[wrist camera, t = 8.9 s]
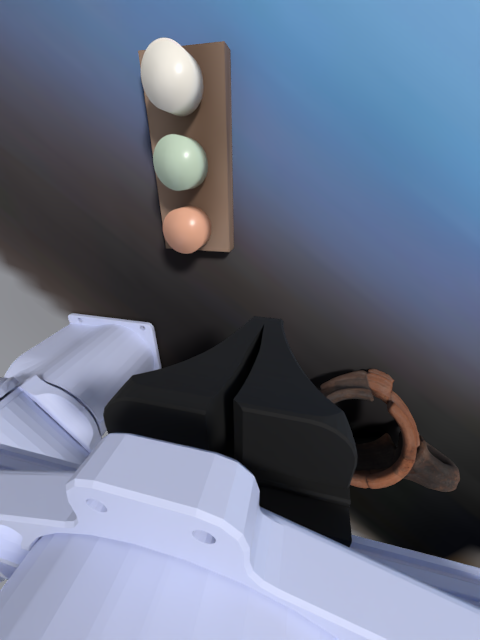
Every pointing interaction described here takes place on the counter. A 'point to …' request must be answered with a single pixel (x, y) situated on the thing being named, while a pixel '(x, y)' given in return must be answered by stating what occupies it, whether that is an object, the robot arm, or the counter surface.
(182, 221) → the terracotta button
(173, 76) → the cream button
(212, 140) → the button panel
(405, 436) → the pottery mug
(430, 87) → the counter surface
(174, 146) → the sage button
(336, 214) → the counter surface
